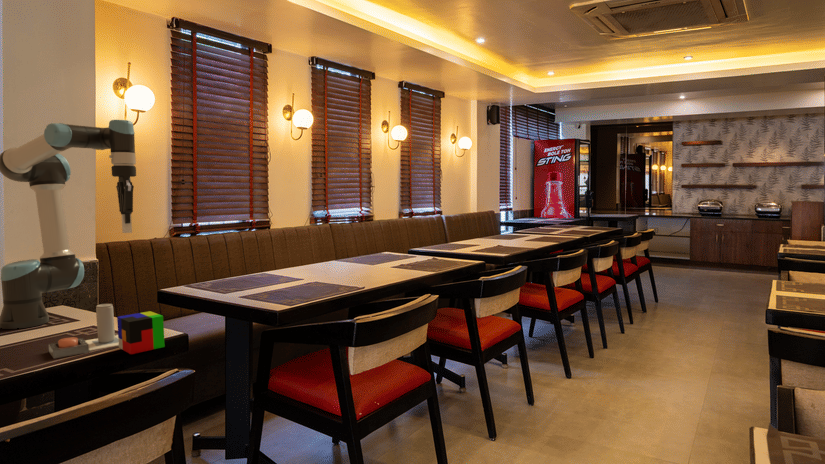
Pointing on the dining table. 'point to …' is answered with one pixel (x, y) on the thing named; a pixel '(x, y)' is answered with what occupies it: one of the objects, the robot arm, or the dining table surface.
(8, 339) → the dining table surface
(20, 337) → the dining table surface
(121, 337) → the puzzle toy
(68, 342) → the button
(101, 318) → the beverage can
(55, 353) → the button collar
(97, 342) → the white flat block
